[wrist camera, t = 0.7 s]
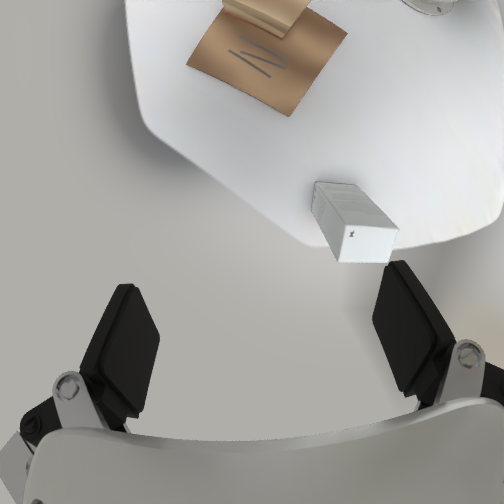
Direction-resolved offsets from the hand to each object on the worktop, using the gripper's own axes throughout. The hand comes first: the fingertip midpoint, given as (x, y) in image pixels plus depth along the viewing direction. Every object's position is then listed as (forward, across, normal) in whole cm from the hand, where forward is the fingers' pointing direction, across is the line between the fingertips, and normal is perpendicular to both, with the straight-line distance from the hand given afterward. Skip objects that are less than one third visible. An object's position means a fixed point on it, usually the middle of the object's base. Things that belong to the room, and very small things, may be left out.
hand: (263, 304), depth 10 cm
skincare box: (+26, -10, +7) cm, 28 cm away
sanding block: (+24, -3, -17) cm, 30 cm away
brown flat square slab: (+25, -3, -13) cm, 29 cm away
